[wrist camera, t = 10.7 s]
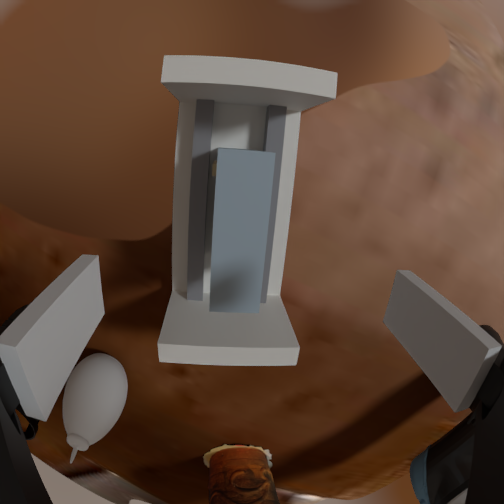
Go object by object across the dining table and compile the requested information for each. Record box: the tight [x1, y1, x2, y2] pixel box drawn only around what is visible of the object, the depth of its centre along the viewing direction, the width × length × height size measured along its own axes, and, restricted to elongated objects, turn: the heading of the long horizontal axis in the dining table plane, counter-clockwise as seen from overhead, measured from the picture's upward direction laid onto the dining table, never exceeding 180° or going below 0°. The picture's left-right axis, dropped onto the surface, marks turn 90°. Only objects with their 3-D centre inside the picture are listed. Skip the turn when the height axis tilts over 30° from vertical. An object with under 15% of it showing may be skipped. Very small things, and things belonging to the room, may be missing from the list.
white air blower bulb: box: [63, 353, 128, 463], centre depth 30 cm, size 8×8×18 cm
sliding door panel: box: [209, 147, 276, 313], centre depth 26 cm, size 11×4×12 cm, turn 175°
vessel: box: [203, 444, 280, 504], centre depth 40 cm, size 14×14×20 cm
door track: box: [158, 55, 337, 366], centre depth 28 cm, size 24×12×12 cm, turn 175°
